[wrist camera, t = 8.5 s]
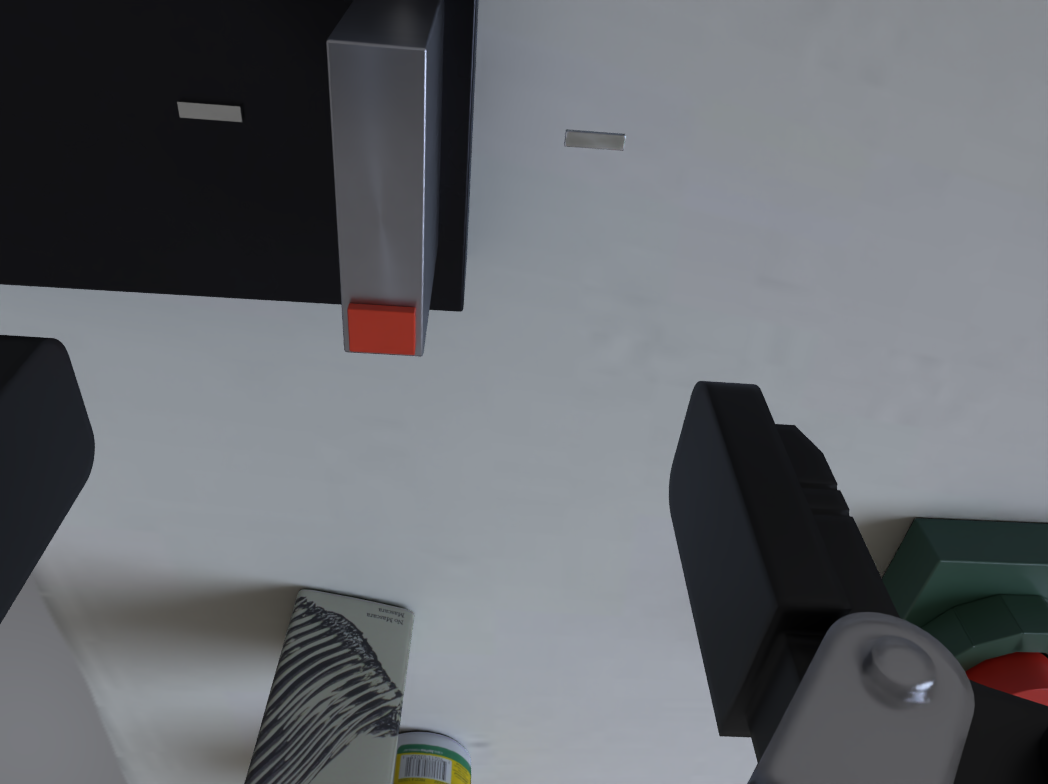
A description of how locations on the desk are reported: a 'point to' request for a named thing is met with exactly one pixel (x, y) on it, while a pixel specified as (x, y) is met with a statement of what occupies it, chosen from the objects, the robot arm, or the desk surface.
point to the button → (1015, 675)
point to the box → (335, 694)
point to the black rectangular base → (199, 148)
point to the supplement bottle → (430, 760)
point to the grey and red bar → (386, 168)
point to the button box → (974, 586)
